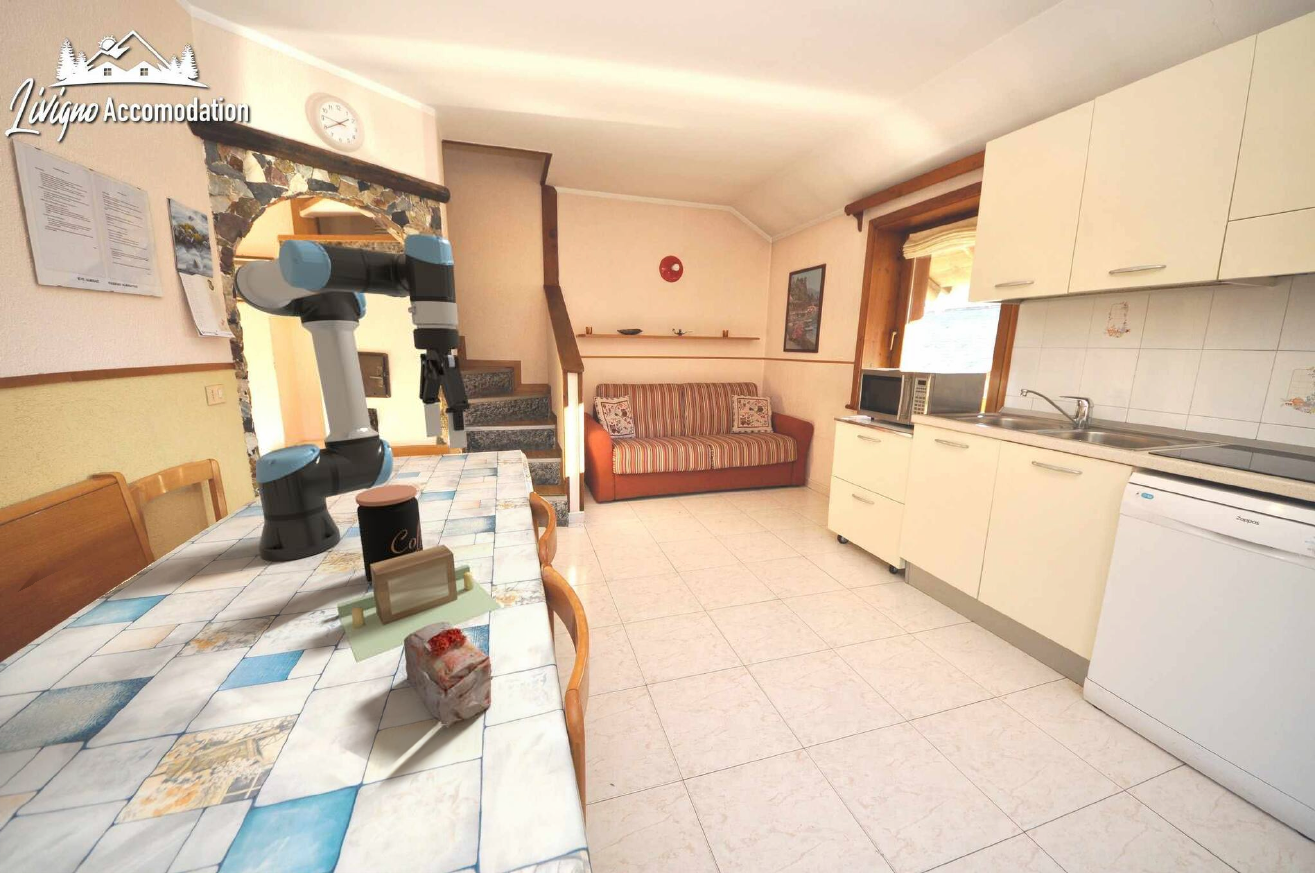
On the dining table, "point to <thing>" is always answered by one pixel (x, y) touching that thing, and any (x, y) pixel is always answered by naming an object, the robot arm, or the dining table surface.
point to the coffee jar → (388, 524)
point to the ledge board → (409, 617)
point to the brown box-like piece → (413, 583)
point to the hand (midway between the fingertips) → (446, 441)
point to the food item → (448, 672)
